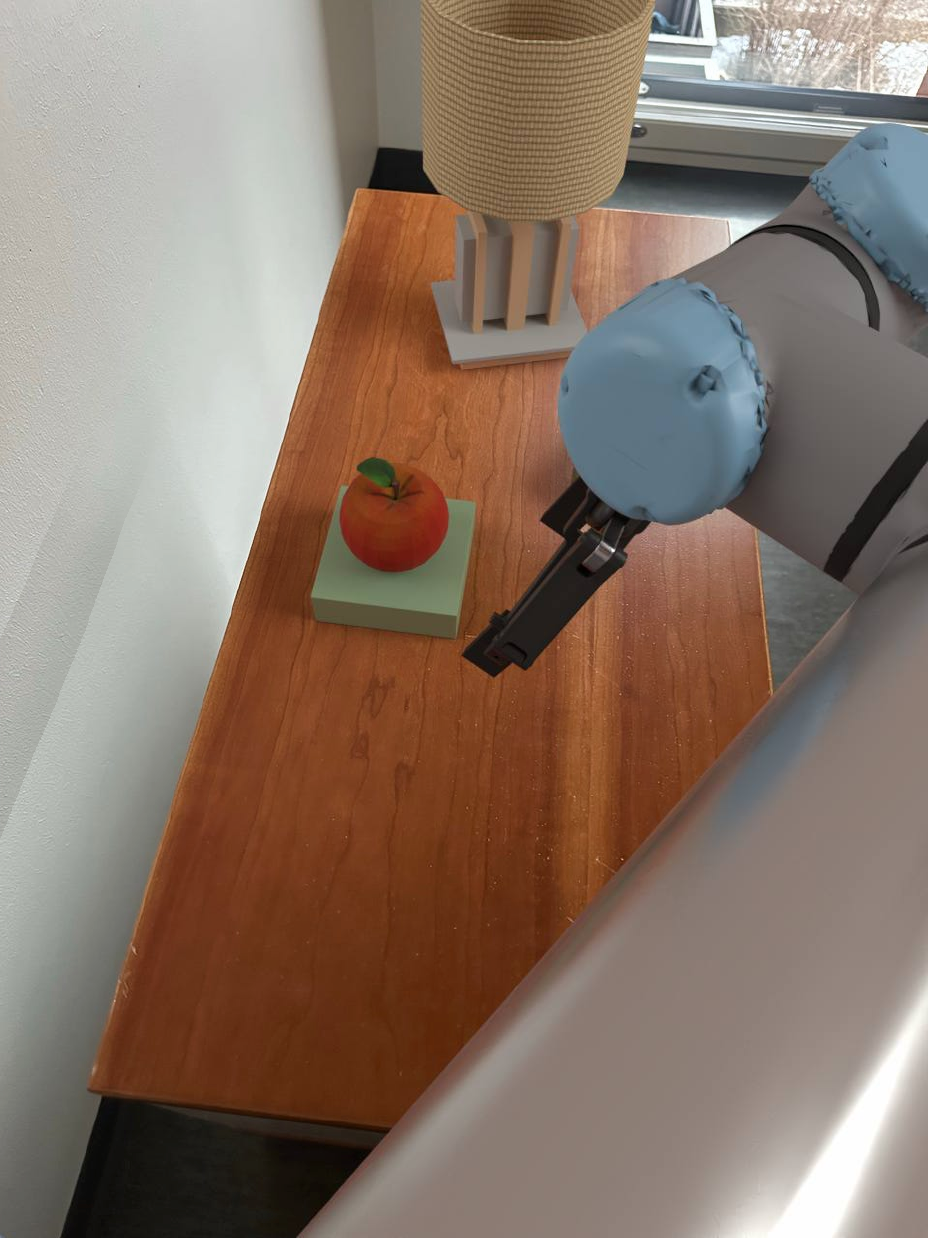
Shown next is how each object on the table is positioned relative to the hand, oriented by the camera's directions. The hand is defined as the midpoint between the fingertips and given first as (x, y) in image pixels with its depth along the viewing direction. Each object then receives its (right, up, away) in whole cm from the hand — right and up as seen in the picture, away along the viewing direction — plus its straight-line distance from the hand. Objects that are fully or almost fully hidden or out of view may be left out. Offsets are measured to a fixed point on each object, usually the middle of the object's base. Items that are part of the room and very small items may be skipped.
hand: (519, 591), depth 64 cm
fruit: (-10, +4, +18) cm, 21 cm away
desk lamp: (+1, +31, +40) cm, 51 cm away
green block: (-10, +2, +21) cm, 23 cm away
